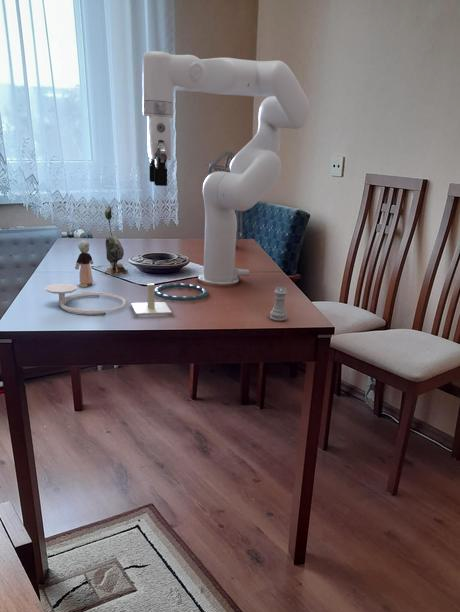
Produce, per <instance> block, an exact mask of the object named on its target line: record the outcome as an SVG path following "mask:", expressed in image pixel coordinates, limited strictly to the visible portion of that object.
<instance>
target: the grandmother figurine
mask: <svg viewBox="0 0 460 612" xmlns="http://www.w3.org/2000/svg"><path fill="white" fill-rule="evenodd" d="M77 248H78V249H79V251H80V253H79V254H78V257H77V260H76V262H75V267H74V269H75V270H77V271H78V270H79V285H78V287H80V288H87V287H89V286H93V283H94V278H93V273H92V268H91V265H93V264H94V261H93V257H92V255H91V254H90V253H89V250H90V242H89V241H87V240H85V239H83V240H81V241H79V242H78V243H77Z"/></svg>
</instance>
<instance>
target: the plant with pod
mask: <svg viewBox="0 0 460 612" xmlns="http://www.w3.org/2000/svg"><path fill="white" fill-rule="evenodd" d="M104 217H105V218H106V220H107V221H108V225H109V230H110V235H109V236H107V237H105V250H106V251H105V252H106V260H107V261H108V263H110V266H109V267H107V268H106V270H104V273H106V274H107V275H111V276H113V275H114V276H117V275H129V273H130V271H129V270H128V269H127V268H125V267H124V264H123V263H122V262H119V261H120V260H123V257H124V256H125V252H124V251H125V250H124V248H123V245H122V243H121V241H120V240H119V239H118V238H117V237H116V236H115V235H113V234H112V233H113V232H112V228H111V220H112V217H113V215H112V207H111V206H110V205H107V207H106V208H105V211H104Z"/></svg>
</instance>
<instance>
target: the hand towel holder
mask: <svg viewBox="0 0 460 612" xmlns="http://www.w3.org/2000/svg"><path fill="white" fill-rule="evenodd" d="M44 289H45V291H46V292H47V293H51V294H55V295H57V294H58V301H57V303H58V305H59V306H60V308H61V309H62V310H64V311H65V312H67V313H68V312H69V313H70V314H76V315H86V316H103V315H107V313H106V312H112V311H117V310H119V309H122V308H123V307H125V306H126V305H127V301H126V299H125V298H124V297H122V296H120V295H117V294H114V293H108V292H99V291H98V292H97V291H89V292H88V291H87V292H79V293H77V292H76V291H77V289H78V286H77V285H75V284H72V283H62V282H60V283H58V282H57V283H51V284H48V285H45V286H44ZM74 292H76V293H74ZM71 293H73V294H71ZM66 294H69V295H67V296H66ZM101 296H107V297H112V298H116V299H119V300H121V302H122V303H121V304H120V305H118V306H115V307H113V308H106V309H89V310H88V309H78V308H72V307H69V306H67V305H66V304H67V302H68V301H70V300H74V299H78V298H79V299H80V298H89V297H90V298H91V297H93V298H95V297H101Z"/></svg>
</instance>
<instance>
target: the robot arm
mask: <svg viewBox="0 0 460 612" xmlns="http://www.w3.org/2000/svg"><path fill="white" fill-rule="evenodd" d="M174 91H177V92H195V93H206V94H211V95H212V94H213V95H223V96H225V95H226V96H243V97H265V98H264V99H263V100H262V102H261V103H260V105H259V109H258V125H257V126H258V127H257V132H256V134H255V135H254V136H253V137H252V138H251V140H250V141H248V143H246V144H245V145H244V146H243V147H242V148H241V149H240V150H239V151H238V152H237V153H236V154H235V157H232V161H231V164H230V163H229V166H230V167H229V170H230V172H231V173H230V172H223V170H221V171H219V170H218V172H217V171H214V172H212V173H211V174H210V175H209V174H208V175H207V177H205V179H204V181H203V184H202V196H203V197H202V198H203V202H204V203H203V205H204V244H203V245H204V247H203V274H200V275H199V276H198V281H200V282H202V283H205V284H210V285H224V286H225V285H234V284H237V283H239V281H240V279H239V278H240V277H249V276H250V270H249V269H243V268H237V267H236V266H235V264H236V248H237V242H236V236H237V233H236V232H237V219H236V210H238V212H240V211H242V212H245V211H248V210H250V209H252V208H253V207H254V206H255V205H257V204H258V202H259V201H260V200H261V199H262V198H264V197H265V195H267V193H268V192H270V190H271V189H272V188H273V187H274V186H275V185H276V184H277V182H278V181H279V178H280V176H281V174H282V173H281V172H282V161H281V159H280V156H279V155H278V154H279V152H280V150H281V129H291V130H297V129H302V128H303V127H305V126H306V125H307V123H309V120H310V117H311V106H310V105H311V104H310V101H309V99H308V97H307V95H306V93H305V91H304V89H303V88H302V86H301V85H300V82H299V81H298V79H297V77H296V75H295V74H294V73H293V70H292V69H291V68H290V66H288V65H287V64H286V63H285V62H284V61H282V60H253V59H244V58H243V59H240V58H233V57H212V58H199V57H198V56H196V55H194V54H171V53H169V52H165V51H160V50H159V51H158V50H149V51H145V52H144V53H143V56H142V116H143V117H147V156H148V158H149V175H148V177H149V182H150V183H154V186H156V187H167V186H168V163H167V161H171V160H172V132H171V131H172V129H171V119H174Z"/></svg>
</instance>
